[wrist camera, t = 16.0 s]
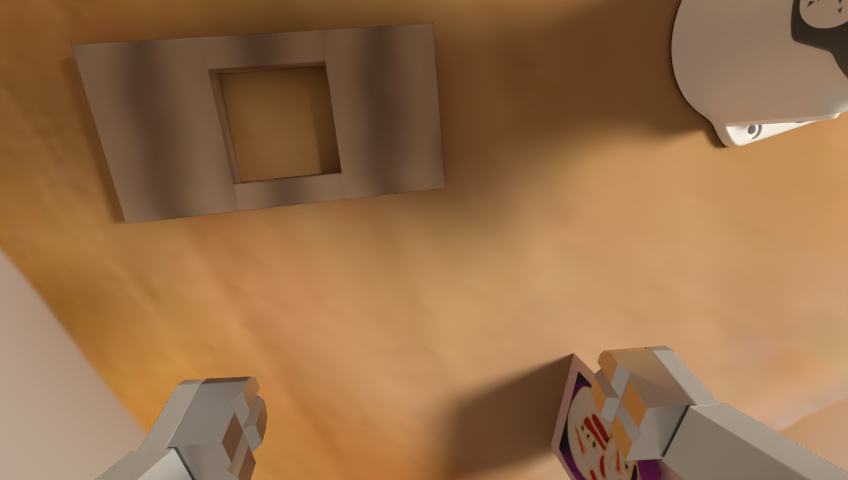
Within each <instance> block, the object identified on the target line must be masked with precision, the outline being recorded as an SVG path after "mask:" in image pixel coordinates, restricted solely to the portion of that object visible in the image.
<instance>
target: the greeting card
mask: <svg viewBox="0 0 848 480" xmlns="http://www.w3.org/2000/svg"><path fill="white" fill-rule="evenodd" d="M593 376H594V373H593V372H592V371H591V370H590V369H589V368H588V367H587V366H586V365H585V364H584V363H583V362H582V361H581V360H580V359H579V358H578V357H577V356H576V355H575V354H573V358H572V362H571V366H570V370H569V374H568V378H567V382H566V386H565V390H564V394H563V398H562V402H561V406H560V410H559V414H558V418H557V422H556V426H555V430H554V434H553V438H552V442H551V448H552V449H553V451H554V453H555V454H556V456H557V458H558V459H559V461H560V462H561V464H562V466H563V467H564V469H565V471H566V472H567V474H568V476H569V477H570V479H571V480H684V479H683V478H682V477H681V476H679V475H678V474H677V473H676V472H675V471H674V470H673V469H671V468H670V467H669V466H668V465H667V464H666V463H664V462H663V461H662V460H663V459H648V460H631V461H625V459H624V457H623V455H622V454H621V452H620V450H619V448H618V446H617V444H616V443H615V441H614V439H613V437H612V435H611V433H610V431H611V426H612V423H611V422H609V421H608V420H607V419H605V418H604V417H603V416H601V415H600V413H599V411H598V409H597V407H596V405H595V402H594V399H593V395H592V380H593Z"/></svg>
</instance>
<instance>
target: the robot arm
mask: <svg viewBox="0 0 848 480" xmlns="http://www.w3.org/2000/svg"><path fill="white" fill-rule="evenodd" d="M672 63H673V69H674V74H675V77H676V80H677V83H678V86H679V88H680V90H681V92H682V94H683V95H684V97H685V98H686V100H687V101H688V102H689V104H690V105H691V106H692V107H693V108H694V109H695V110H696V111H698V112H699V113H700V114H702V115H703V116H705V117H706V118H707V119H708V120H709V121H710V122H711V123H712V124H713V126H714V128H715V130H716V132H717V134H718V136H719V138H720V140H721V141H722V143H723V144H724V145H725V146H728V147H735V146H742V145H746V144H749V143H752V142H755V141H758V140H761V139H764V138H767V137H770V136H773V135H776V134H779V133H782V132H785V131H788V130H791V129H794V128H797V127H800V126H803V125H806V124H809V123H812V122H815V121H820V120H829V119H835V118H836V117H837V116H838V115H839V114H840V113H843V112H846V111H848V0H682V2H681V4H680V7H679V10H678V13H677V16H676V20H675V24H674V29H673V35H672ZM598 364H599V365H600V367H601V369H600V370H599V371H598V372H597V373H596V374H594V376H593V380H592V395H593V399H594V402H595V405H596V407H597V409H598V411H599V413H600V415H601V416H603V417H604V418H605V419H607V420H608V421H609V422H611V423H612V426H611V431H610V433H611V435H612V437H613V439H614V441H615V443H616V444H617V446H618V448H619V450H620V452H621V454H622V455H623V457H624V459H625V461H631V460H648V459H663V460H662V461H663V462H664V463H666V464H667V465H668V466H669V467H670V468H671V469H673V470H674V471H675V472H676V473H677V474H678V475H679V476H681V477H682V478H683V479H684V480H848V472H847V471H845V470H843V469H842V468H840V467H838V466H836V465H835V464H833V463H831V462H829V461H828V460H826V459H824V458H822V457H821V456H819V455H817V454H815V453H813V452H812V451H810V450H808V449H806V448H804V447H803V446H801V445H799V444H798V443H796V442H794V441H792V440H790V439H789V438H787V437H785V436H783V435H782V434H780V433H778V432H776V431H775V430H773V429H771V428H769V427H768V426H766V425H764V424H762V423H761V422H759V421H757V420H755V419H753V418H752V417H750V416H748V415H746V414H745V413H743V412H741V411H739V410H738V409H736V408H734V407H732V406H730V405H729V404H727V403H719V402H718V401H717V400H716V399H715V398H714V396H713V395H712V394H711V393H710V392H709V391H708V390H707V388H706V387H705V386H704V385H703V384H702V383H701V381H700V380H699V379H698V378H697V377H696V376H695V375H694V373H693V372H692V371H691V370H690V369H689V368H688V367H687V365H686V364H685V363H684V362H683V361H682V360H681V359H680V357H679V356H678V355H677V354H676V353H675V352H674V351H673V350H672V349H671V348H669V347H667V346H657V347H645V348H642V347H641V348H629V349H617V350H605V351H603V352H602V353H601V354H600V356H599V359H598ZM258 389H259V385H258V382H257V380H256V378H255V377H232V378H211V379H196V380H184V381H182V382H181V383H180V384H179V385H178V386H177V387H176V388H175V390H174V392H173V393H172V395H171V397H170V398H169V400H168V402H167V403H166V405H165V407H164V408H163V410H162V412H161V413H160V415H159V417H158V418H157V420H156V422H155V423H154V425H153V427H152V429H151V430H150V432H149V434H148V435H147V437H146V439H145V440H144V442H143V444H142V445H141V447H140V449H139V450H138V451H132V452H130V453H128V454H127V455H126V456H124V457H123V458H122V459H121V460H119V461H118V462H117V463H115V464H114V465H113V466H112V467H110V468H109V469H108V470H107V471H105V472H104V473H103V474H102V475H100V476H99V477H98V478H96V479H95V480H251V477H252V474H253V470H254V467H255V464H256V462H255V459H254V457H253V454H252V453H253V452H254V451H255V450H256V449H257V447H258V446H259V445H260V444H261V443H262V441H263V438H264V434H265V431H266V423H267V411H266V405H265V402H264V400H263V399H262V398H260V397H259V396H257V392H258Z"/></svg>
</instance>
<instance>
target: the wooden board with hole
mask: <svg viewBox="0 0 848 480" xmlns="http://www.w3.org/2000/svg"><path fill="white" fill-rule="evenodd" d="M71 47H72V50H73V54H74V57H75V60H76V63H77V67H78V70H79V73H80V76H81V79H82V83H83V86H84V89H85V92H86V96H87V99H88V102H89V105H90V109H91V112H92V115H93V118H94V122H95V125H96V128H97V131H98V135H99V138H100V141H101V144H102V148H103V151H104V154H105V157H106V161H107V164H108V167H109V170H110V174H111V177H112V180H113V183H114V187H115V190H116V193H117V196H118V200H119V203H120V206H121V209H122V213H123V216H124V219H125V222H126V224H129V223H138V222H147V221H156V220H164V219H173V218H182V217H191V216H200V215H209V214H217V213H226V212H235V211H244V210H253V209H262V208H270V207H279V206H288V205H297V204H306V203H315V202H323V201H332V200H341V199H350V198H359V197H368V196H376V195H385V194H394V193H403V192H412V191H421V190H429V189H438V188H445V178H444V165H443V152H442V139H441V126H440V113H439V100H438V87H437V74H436V61H435V48H434V35H433V23H431V24H414V25H397V26H380V27H363V28H347V29H330V30H313V31H296V32H279V33H262V34H246V35H229V36H212V37H195V38H178V39H162V40H145V41H128V42H111V43H94V44H77V45H71ZM324 66H326V69H327V76H328V82H329V89H330V96H331V103H332V109H333V116H334V123H335V130H336V137H337V143H338V150H339V157H340V164H341V170H342V172H333V173H323V174H314V175H304V176H294V177H285V178H275V179H266V180H256V181H247V182H242V180H241V175H240V171H239V166H238V162H237V157H236V153H235V148H234V143H233V139H232V134H231V130H230V125H229V121H228V116H227V111H226V107H225V102H224V98H223V93H222V88H221V84H220V79H219V75H218V74H225V73H239V72H253V71H267V70H282V69H296V68H310V67H324Z"/></svg>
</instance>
